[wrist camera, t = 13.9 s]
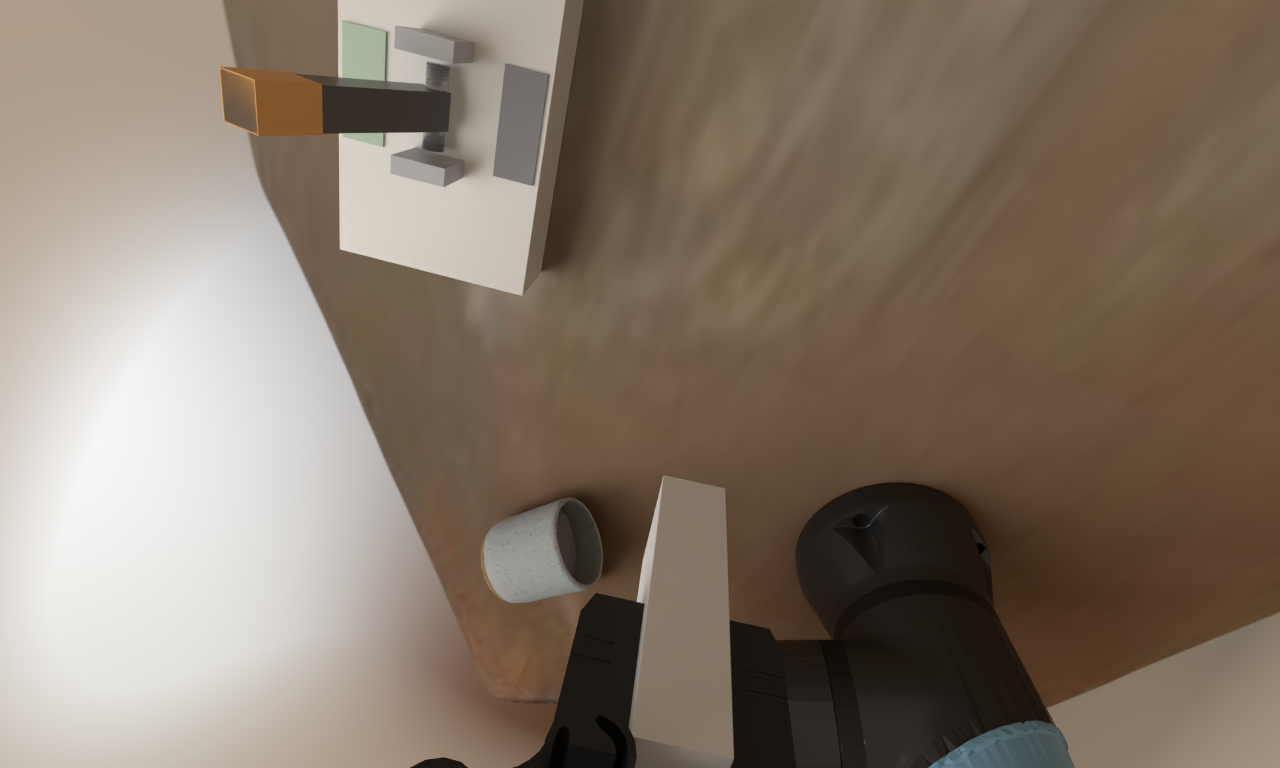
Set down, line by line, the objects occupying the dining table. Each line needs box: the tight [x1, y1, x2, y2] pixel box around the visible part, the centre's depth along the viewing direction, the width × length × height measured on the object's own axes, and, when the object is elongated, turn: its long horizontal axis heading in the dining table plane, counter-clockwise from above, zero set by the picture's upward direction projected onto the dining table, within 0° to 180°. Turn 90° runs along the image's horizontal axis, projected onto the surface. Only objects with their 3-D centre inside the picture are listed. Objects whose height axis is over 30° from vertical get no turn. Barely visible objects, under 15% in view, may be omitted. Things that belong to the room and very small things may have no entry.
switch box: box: [338, 0, 584, 296], centre depth 36 cm, size 20×12×8 cm, turn 167°
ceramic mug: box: [481, 497, 603, 603], centre depth 52 cm, size 11×8×8 cm
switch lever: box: [219, 61, 451, 152], centre depth 30 cm, size 4×2×12 cm, turn 167°
